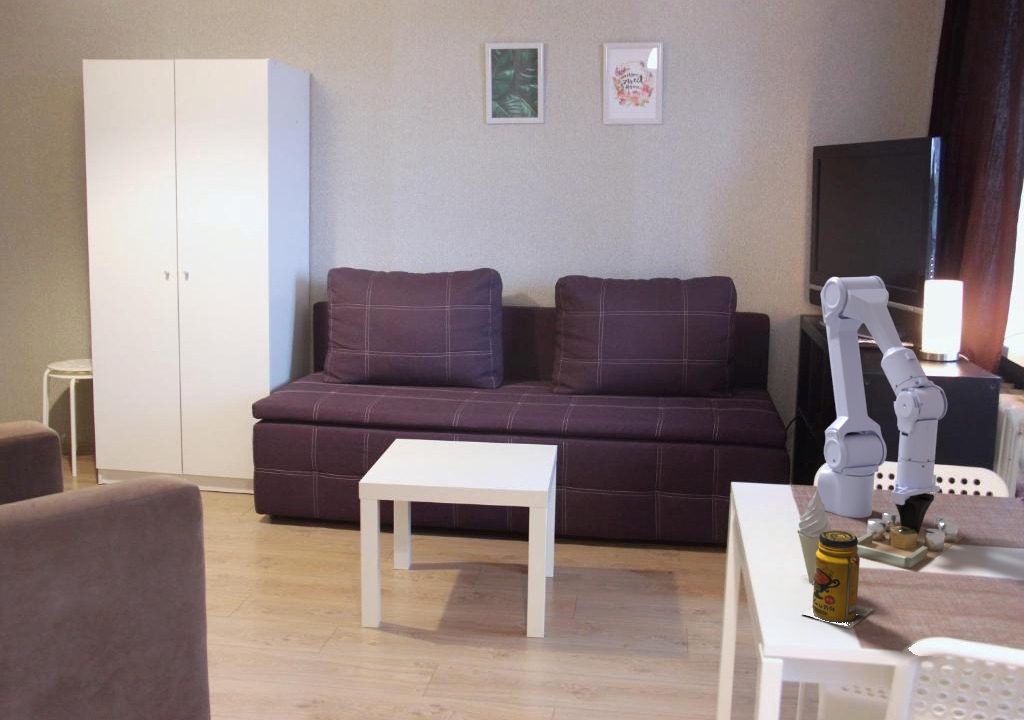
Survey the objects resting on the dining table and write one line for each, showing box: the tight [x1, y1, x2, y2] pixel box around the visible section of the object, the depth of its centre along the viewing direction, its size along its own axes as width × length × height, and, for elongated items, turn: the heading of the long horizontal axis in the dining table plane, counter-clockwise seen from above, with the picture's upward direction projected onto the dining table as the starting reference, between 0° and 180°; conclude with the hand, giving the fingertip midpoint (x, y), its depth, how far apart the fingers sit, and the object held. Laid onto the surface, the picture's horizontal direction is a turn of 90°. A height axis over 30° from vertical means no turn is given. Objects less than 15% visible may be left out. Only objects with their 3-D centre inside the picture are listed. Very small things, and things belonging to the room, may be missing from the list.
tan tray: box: [857, 525, 966, 573], centre depth 178 cm, size 12×22×3 cm, turn 138°
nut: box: [889, 526, 917, 550], centre depth 178 cm, size 4×5×3 cm
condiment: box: [812, 529, 874, 629], centre depth 152 cm, size 7×8×12 cm
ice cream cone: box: [797, 489, 832, 584], centre depth 163 cm, size 5×5×15 cm
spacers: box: [866, 509, 959, 553], centre depth 181 cm, size 12×13×3 cm
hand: (910, 535), depth 180 cm, fingers closed
